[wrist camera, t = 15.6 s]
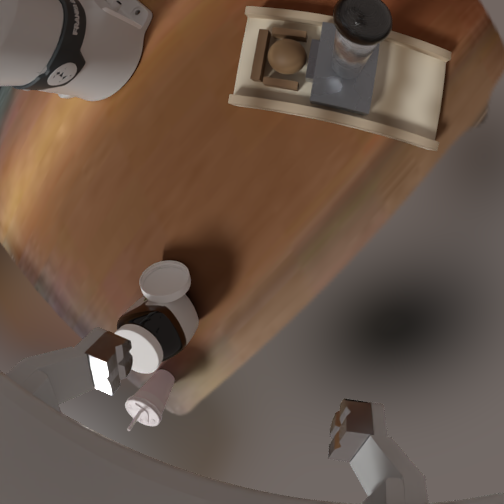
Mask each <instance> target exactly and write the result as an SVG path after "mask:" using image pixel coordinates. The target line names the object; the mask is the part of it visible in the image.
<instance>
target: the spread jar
mask: <svg viewBox="0 0 504 504" xmlns="http://www.w3.org/2000/svg"><path fill="white" fill-rule="evenodd" d="M139 283H140V287H141V290H142V293H143V295H144V296H143V297H142V298H140V299H139V300H138V301H136V302H135V303H134V304H133V305H132V306H131V307H130V308H129V309H128V310H127V311H126V312H125V313H124V314H123V315H122V316H121V317H120V318H119V320H118V322H117V331H116V332H115V333H114V334H116V335H119V336H121V337H124V338H126V339H128V340H130V341H131V345H132V348H131V350H130V351H129V352H130V353H131V355H132V356H133V364H132V368H131V369H132V370H134V371H136V372H139V373H152V372H154V371H155V370H156V369H157V368H158V367H159V365H160V364H161V362H163V361H165V360H168V359H170V358H172V357H173V356H175V355H176V354H178V353H179V352H180V351H181V350H183V349H184V347H185V346H186V345H187V344H188V342H189V341H190V340H191V338H192V336H193V335H194V333H195V332H196V330H197V327H198V324H199V320H198V315H197V312H196V309H195V307H194V305H193V303H192V301H191V300H190V298H189V297H188V296H187V294H186V292H187V291H188V290H189V288H190V285H191V278H190V273H189V270H188V268H187V267H186V266H185V265H184V264H183V263H181V262H178V261H173V260H166V261H161V262H157V263H155V264H153V265H151V266H149V267H148V268H147V269H146V270H145V271H144V272H143V273H142V275H141V277H140V282H139Z"/></svg>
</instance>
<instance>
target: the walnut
mask: <svg viewBox="0 0 504 504" xmlns="http://www.w3.org/2000/svg"><path fill="white" fill-rule="evenodd" d="M306 60H307V55H306V51H305V49H304V47H303V46H302V45H301V44H300V43H298V42H297V41H295V40H292V39H281V40H278V41H276V42H275V43H274V44H273V45H272V46H271V47H270V49H269V51H268V61H269V64H270V65H271V67H272V68H273V69H274V70H276V71H277V72H279V73H282V74H294V73H296V72H298V71H300V70H301V69H302V68H303V67H304V65H305V63H306Z"/></svg>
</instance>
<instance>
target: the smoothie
mask: <svg viewBox="0 0 504 504" xmlns="http://www.w3.org/2000/svg"><path fill="white" fill-rule="evenodd" d="M174 382H175V379H174V377H173V375H172V374H171V373H170V372H168V371H166V370H163V369H160V370H158V371H157V372H156V373H155V374H154V375H153V376H152V377H151V378H150V379H149V380H148V381H147V382H146V383H145V384H144V385H143V386H142V387H141V388H140V389H139V390H138V391H137V392H136V393H135V394H134V396H131V397H129V398H128V400H127V401H126V403H125V407H126V410H127V411H128V413H129V414H130V415H131V416H132V417H133V418H134V419H133V421H132V422H131V424H130V425H129V427H128V428H127V430H128V431H130V430H131V429H132V427H133V426H134V424H135V422H136V421H138V422H140V423H142V424H144V425H148V426H157V425H158V424H159V423H160V421H161V420H162V412H163V410H164V407H165V405H166V402H167V400H168V397H169V394H170V392H171V389H172V387H173V384H174Z"/></svg>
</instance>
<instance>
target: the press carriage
mask: <svg viewBox="0 0 504 504" xmlns="http://www.w3.org/2000/svg"><path fill="white" fill-rule="evenodd" d="M333 21H334V24H333V23H328V22H323V23H322V30H321V36H320V40H315V39H312V41H311V47H310V53H309V59H308V65H307V71H306V76H305V78H306V82H311V83H313V84H312V89H311V95H310V103H311V104H316V105H321V106H326V107H331V108H335V109H339V110H344V111H348V112H352V113H356V114H360V115H364V116H366V115H368V114H369V111H370V105H371V100H372V94H373V88H374V81H375V75H376V68H377V61H378V54H379V46H380V43H381V42H382V41H384V40H385V39H386V38H387V37H388V36H389V34H390V32H391V29H392V16H391V13H390V11H389V9H388V7H387V6H386V5H385V4H384V3H383V2H382V1H381V0H339V1H338V2H337V3H336V5H335V7H334V10H333Z"/></svg>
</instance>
